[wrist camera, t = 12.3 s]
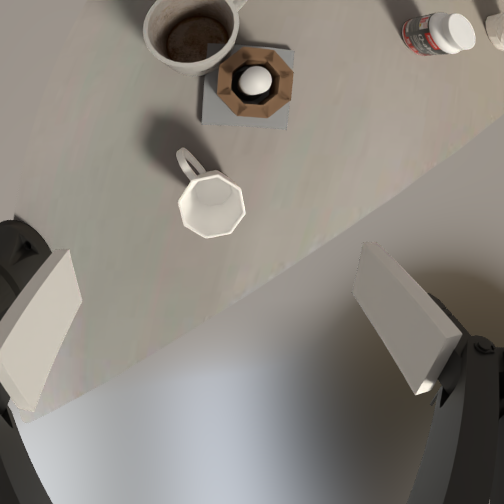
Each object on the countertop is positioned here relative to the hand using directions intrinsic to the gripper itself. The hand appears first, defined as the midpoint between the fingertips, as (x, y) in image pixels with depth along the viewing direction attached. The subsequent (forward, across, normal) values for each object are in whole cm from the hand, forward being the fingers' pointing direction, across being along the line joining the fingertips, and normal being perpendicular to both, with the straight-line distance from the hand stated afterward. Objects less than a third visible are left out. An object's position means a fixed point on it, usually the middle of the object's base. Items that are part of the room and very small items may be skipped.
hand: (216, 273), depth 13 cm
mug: (+27, -1, +16) cm, 32 cm away
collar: (+26, +4, +9) cm, 27 cm away
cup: (+27, -1, -2) cm, 27 cm away
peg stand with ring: (+27, +4, +9) cm, 28 cm away
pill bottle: (+26, +27, +20) cm, 43 cm away
